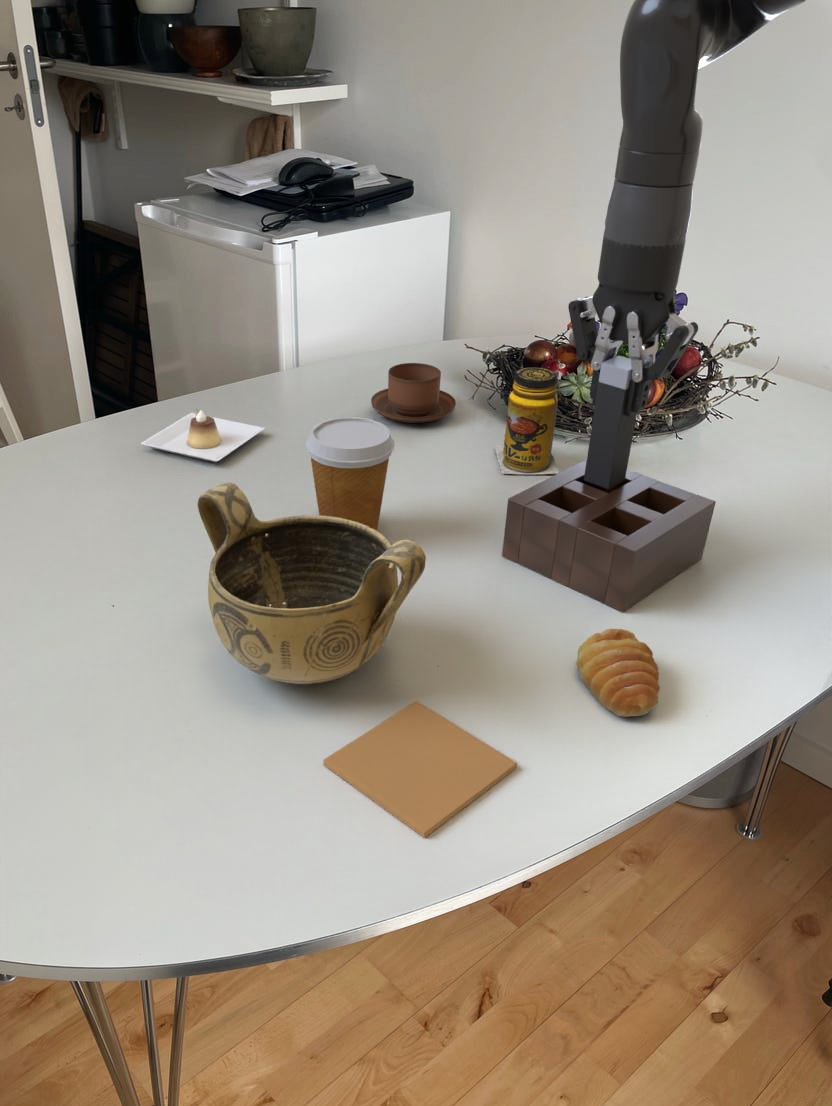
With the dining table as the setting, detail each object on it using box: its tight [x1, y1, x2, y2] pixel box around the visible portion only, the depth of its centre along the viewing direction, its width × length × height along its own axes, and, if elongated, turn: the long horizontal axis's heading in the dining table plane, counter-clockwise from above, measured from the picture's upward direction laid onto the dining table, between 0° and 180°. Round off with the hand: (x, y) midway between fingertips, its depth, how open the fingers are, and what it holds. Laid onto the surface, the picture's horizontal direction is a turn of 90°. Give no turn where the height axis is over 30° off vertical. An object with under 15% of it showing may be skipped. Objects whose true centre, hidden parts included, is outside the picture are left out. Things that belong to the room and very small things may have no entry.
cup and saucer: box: [370, 362, 457, 424], centre depth 137 cm, size 12×12×6 cm
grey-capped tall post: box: [584, 355, 638, 489], centre depth 101 cm, size 3×3×13 cm
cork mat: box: [322, 700, 518, 838], centre depth 78 cm, size 11×11×1 cm
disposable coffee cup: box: [304, 416, 395, 531], centre depth 106 cm, size 10×10×12 cm
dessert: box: [140, 409, 266, 463], centre depth 128 cm, size 12×12×5 cm
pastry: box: [576, 628, 661, 718], centre depth 85 cm, size 9×7×4 cm
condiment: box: [494, 366, 561, 476], centre depth 122 cm, size 7×8×12 cm
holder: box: [501, 459, 717, 613], centre depth 103 cm, size 15×15×7 cm
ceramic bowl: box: [197, 481, 427, 685], centre depth 85 cm, size 22×17×15 cm
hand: (615, 408), depth 100 cm, fingers closed on grey-capped tall post, 3 cm apart
